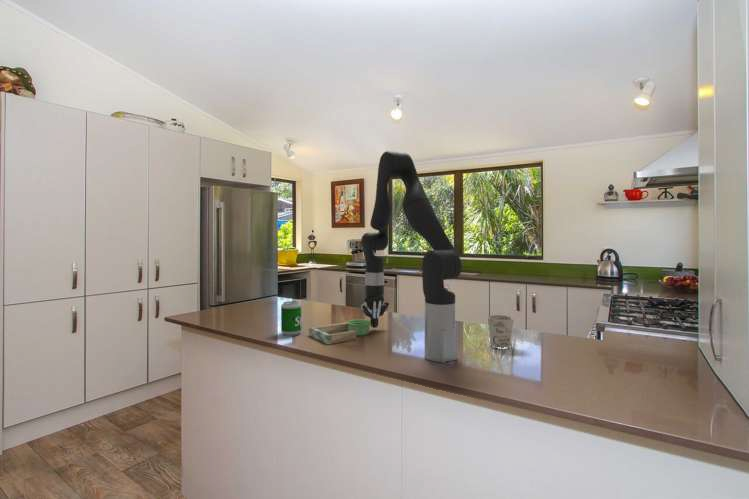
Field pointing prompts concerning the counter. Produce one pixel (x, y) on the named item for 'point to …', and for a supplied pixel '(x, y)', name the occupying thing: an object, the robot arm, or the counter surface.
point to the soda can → (291, 318)
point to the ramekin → (359, 326)
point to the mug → (500, 330)
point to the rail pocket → (325, 332)
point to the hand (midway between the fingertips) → (374, 327)
